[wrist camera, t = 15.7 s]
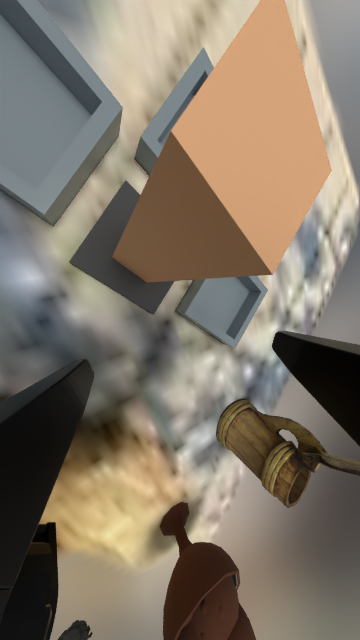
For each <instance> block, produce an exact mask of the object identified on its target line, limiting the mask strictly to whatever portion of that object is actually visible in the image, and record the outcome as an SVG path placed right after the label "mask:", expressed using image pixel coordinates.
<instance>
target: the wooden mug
mask: <svg viewBox="0 0 360 640" xmlns="http://www.w3.org/2000/svg"><path fill="white" fill-rule="evenodd" d="M281 429H284V430H289V431H290V432H291V433H292V434H294V435H295V437H296V439H297V441H298V449H297V448H296V446H295V445H294V443H293V442H292V441H286V440H285V439H284V438H283V437H282V436H281V435H280V434H279V431H280V430H281ZM217 438H218V441H219V442H221V443H222V444H223V445H224V446H225V447H226V448H227V449H228V450H231V451H232V452H233V453H234V454H235V455H236V456H237V457H238V458H239V459H240V460H241V461H242V462H243V463H244V464H245V465H246V466H247V467H248V468H249V469H250V470H251V471H252V472H253V473H254V474H255V475H256V476H257V477H258V478H259V479H260V480H261V482H262V486H263V487H264V488H265V489H266V490H267V491H268V492H269V493H271V494H272V495H273V496H274V497H277V498H278V499H279V500H280V501H281V502H282V503H283V504H284V505H285V506H286V507H287V508H289V507H292V506H294V505H295V504H297V502H298V501H299V500H300V498H301V496H302V494H303V493H304V491H305V489H306V487H307V484H308V481H309V478H310V474H311V472H316V470H317V469H318V468H319V466H320V465H321V464H323V465H325V466H328V467H329V468H332V469H336V470H339V471H342V472H347V473H351V474H355V475H359V476H360V461H357V460H350V459H344V458H339V457H334V456H330V455H328V453H327V452H326V451H325V449H324V448H323V447H322V445H321V444H320V442H319V441H318V440H317V439H316V438H315V437H314V435H313V434H311V432H310V431H308V430H307V429H306V428H305V427H303V426H302V425H301V424H299V423H297V422H295V421H293V420H291V419H288V418H283V417H279V416H270V415H266V414H263V413H261V412H259V411H257V409H256V408H255V407H254V406H253V405H252V404H251V403H250V401H248V400H240V401H236V402H234V403H233V404H231V405H230V406H229V407H228V408H227V409H226V410H225V412H224V413H223V414H222V416H221V418H220V420H219V422H218V427H217Z"/></svg>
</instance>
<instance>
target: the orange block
mask: <svg viewBox="0 0 360 640" xmlns="http://www.w3.org/2000/svg"><path fill="white" fill-rule="evenodd" d="M330 172H331V166H330V163H329V159H328V156H327V152H326V148H325V145H324V141H323V137H322V134H321V130H320V127H319V123H318V119H317V116H316V112H315V108H314V105H313V101H312V97H311V94H310V90H309V87H308V83H307V79H306V76H305V72H304V68H303V65H302V61H301V58H300V54H299V50H298V47H297V43H296V39H295V36H294V32H293V29H292V25H291V21H290V18H289V14H288V10H287V7H286V3H285V0H261V1H260V2H259V4H258V5H257V7H256V8H255V9H254V11H253V12H252V14H251V15H250V17H249V18H248V20H247V21H246V23H245V24H244V25H243V27H242V28H241V30H240V31H239V33H238V34H237V36H236V37H235V38H234V40H233V41H232V43H231V44H230V46H229V47H228V49H227V50H226V51H225V53H224V54H223V56H222V57H221V59H220V60H219V62H218V63H217V65H216V66H215V67H214V69H213V70H212V72H211V73H210V75H209V76H208V78H207V79H206V80H205V82H204V83H203V85H202V86H201V88H200V89H199V91H198V92H197V94H196V95H195V96H194V98H193V99H192V101H191V102H190V104H189V105H188V107H187V108H186V109H185V111H184V112H183V114H182V115H181V117H180V118H179V120H178V121H177V123H176V124H175V125H174V127H173V128H172V130H171V132H170V134H169V136H168V138H167V140H166V142H165V144H164V146H163V149H162V151H161V153H160V155H159V157H158V159H157V161H156V164H155V166H154V168H153V170H152V172H151V174H150V176H149V179H148V181H147V183H146V185H145V187H144V189H143V191H142V194H141V196H140V198H139V200H138V202H137V204H136V206H135V209H134V211H133V213H132V215H131V217H130V219H129V221H128V224H127V226H126V228H125V230H124V232H123V234H122V236H121V239H120V241H119V243H118V245H117V247H116V249H115V251H114V254H113V256H112V258H114V259H115V260H116V261H118V262H119V263H120V264H122V265H123V266H125V267H126V268H127V269H129V270H130V271H131V272H133V273H134V274H136V275H137V276H138V277H140V278H141V279H143V280H144V281H145V282H147V283H148V282H163V281H179V280H195V279H211V278H226V277H242V276H258V275H273V273H274V271H275V269H276V268H277V266H278V264H279V262H280V261H281V259H282V257H283V255H284V253H285V252H286V250H287V248H288V246H289V245H290V243H291V241H292V239H293V238H294V236H295V234H296V232H297V230H298V229H299V227H300V225H301V223H302V222H303V220H304V218H305V216H306V215H307V213H308V211H309V209H310V207H311V206H312V204H313V202H314V200H315V199H316V197H317V195H318V193H319V192H320V190H321V188H322V186H323V184H324V183H325V181H326V179H327V177H328V176H329V174H330Z"/></svg>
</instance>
